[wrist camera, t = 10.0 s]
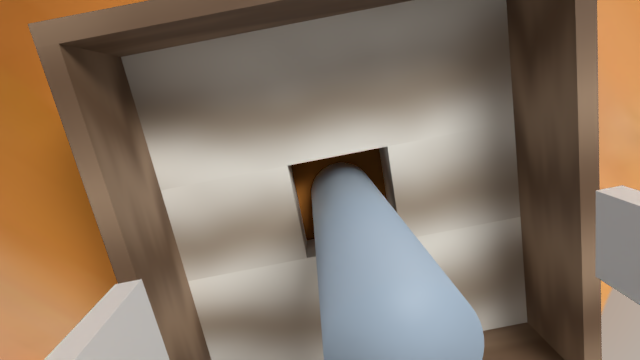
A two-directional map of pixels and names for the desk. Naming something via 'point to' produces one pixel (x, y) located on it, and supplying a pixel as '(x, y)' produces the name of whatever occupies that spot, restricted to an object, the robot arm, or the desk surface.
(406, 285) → the peg
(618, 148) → the desk surface
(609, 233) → the robot arm
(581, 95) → the box
